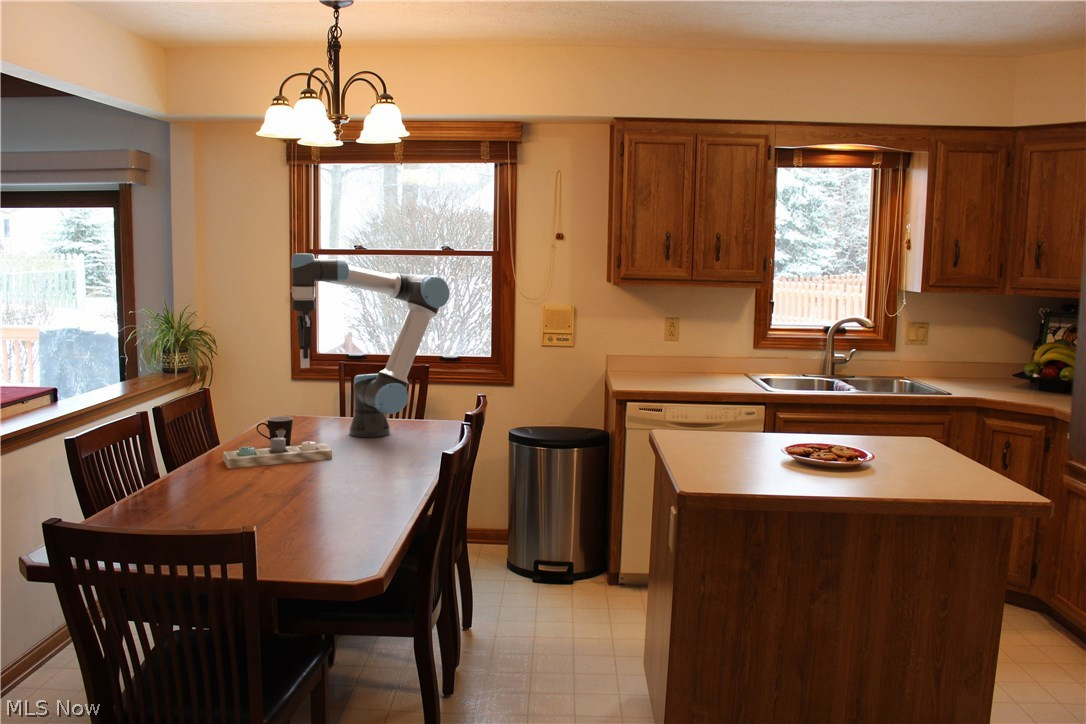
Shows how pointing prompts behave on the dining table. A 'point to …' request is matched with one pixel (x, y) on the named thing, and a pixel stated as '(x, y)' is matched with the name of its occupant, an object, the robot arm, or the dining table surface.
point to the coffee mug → (279, 428)
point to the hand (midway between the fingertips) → (305, 367)
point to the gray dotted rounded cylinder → (278, 445)
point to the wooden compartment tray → (277, 456)
